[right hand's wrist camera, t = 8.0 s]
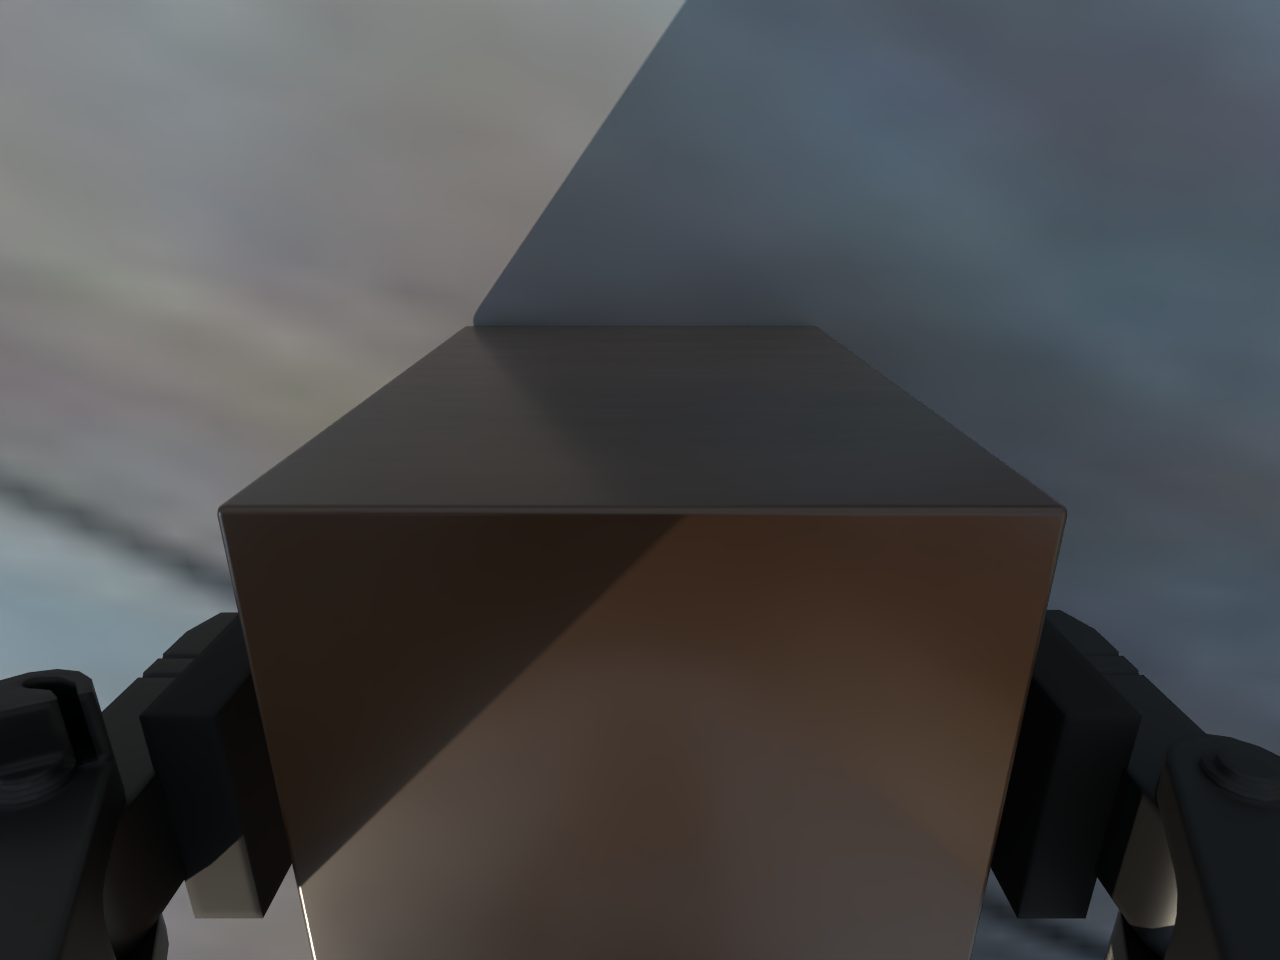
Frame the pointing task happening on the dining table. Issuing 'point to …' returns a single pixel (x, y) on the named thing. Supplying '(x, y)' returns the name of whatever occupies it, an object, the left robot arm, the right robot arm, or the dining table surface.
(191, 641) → the right robot arm
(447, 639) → the walnut beam
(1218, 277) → the dining table surface
